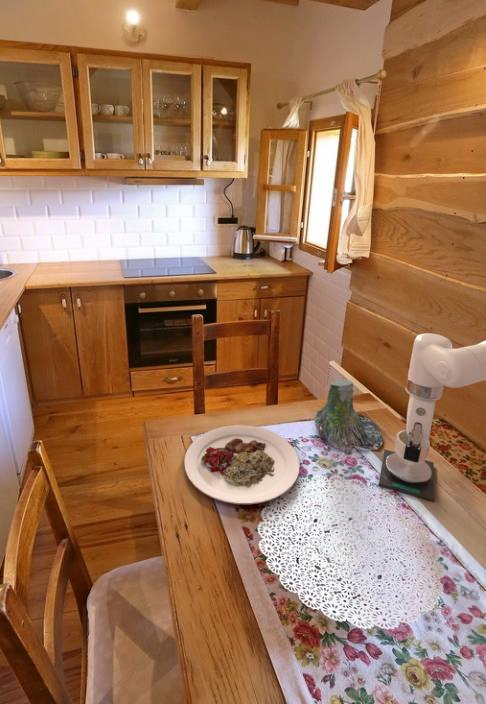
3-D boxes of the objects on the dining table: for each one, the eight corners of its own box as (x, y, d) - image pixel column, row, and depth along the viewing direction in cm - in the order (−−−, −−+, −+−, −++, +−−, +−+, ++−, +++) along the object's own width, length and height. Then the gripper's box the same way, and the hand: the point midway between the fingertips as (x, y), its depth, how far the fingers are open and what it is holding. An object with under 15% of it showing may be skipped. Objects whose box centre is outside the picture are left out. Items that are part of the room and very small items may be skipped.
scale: (432, 468, 106) (433, 461, 105) (432, 506, 94) (434, 498, 93) (383, 455, 111) (384, 448, 110) (377, 489, 99) (379, 482, 98)
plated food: (320, 493, 98) (322, 482, 96) (199, 522, 90) (199, 510, 89) (271, 423, 125) (272, 413, 123) (175, 440, 117) (174, 430, 116)
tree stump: (346, 465, 108) (339, 401, 105) (302, 438, 126) (295, 383, 123) (397, 443, 114) (392, 383, 112) (349, 421, 133) (343, 368, 130)
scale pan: (430, 464, 104) (431, 459, 103) (430, 492, 95) (431, 487, 94) (387, 453, 108) (387, 448, 107) (383, 478, 99) (384, 473, 99)
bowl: (426, 449, 101) (429, 434, 100) (426, 467, 95) (429, 452, 94) (395, 441, 104) (397, 427, 103) (393, 458, 98) (395, 443, 97)
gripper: (443, 410, 84) (428, 477, 90) (441, 373, 99) (428, 434, 105) (404, 401, 87) (392, 467, 93) (408, 367, 102) (397, 426, 108)
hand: (411, 449), depth 99 cm, fingers closed on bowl, 7 cm apart
